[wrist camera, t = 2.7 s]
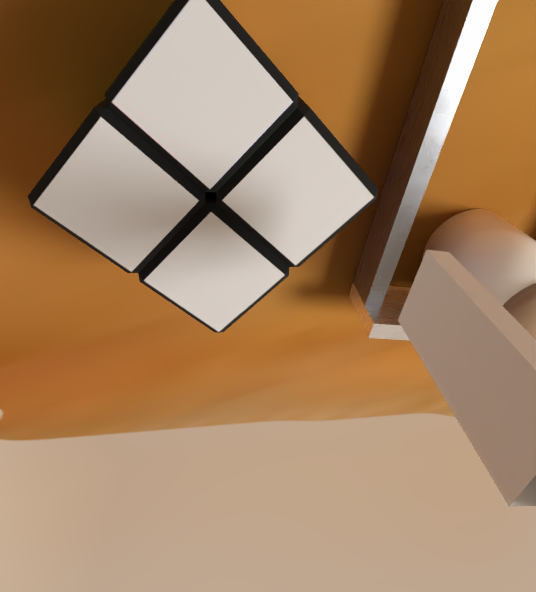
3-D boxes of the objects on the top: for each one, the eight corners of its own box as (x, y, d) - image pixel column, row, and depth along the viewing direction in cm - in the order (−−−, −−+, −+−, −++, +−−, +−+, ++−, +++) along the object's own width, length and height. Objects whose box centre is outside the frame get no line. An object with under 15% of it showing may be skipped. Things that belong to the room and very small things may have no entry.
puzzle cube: (218, 245, 28) (219, 340, 20) (87, 138, 24) (19, 205, 15) (330, 135, 25) (386, 196, 17) (203, -13, 20) (194, -31, 12)
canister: (409, 282, 32) (472, 370, 24) (442, 203, 28) (529, 276, 21) (483, 289, 33) (566, 374, 25) (524, 214, 29) (634, 286, 22)
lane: (348, 295, 32) (368, 337, 28) (464, -62, 20) (527, -81, 16) (524, 309, 34) (565, 349, 30) (714, 0, 23) (822, -2, 19)
